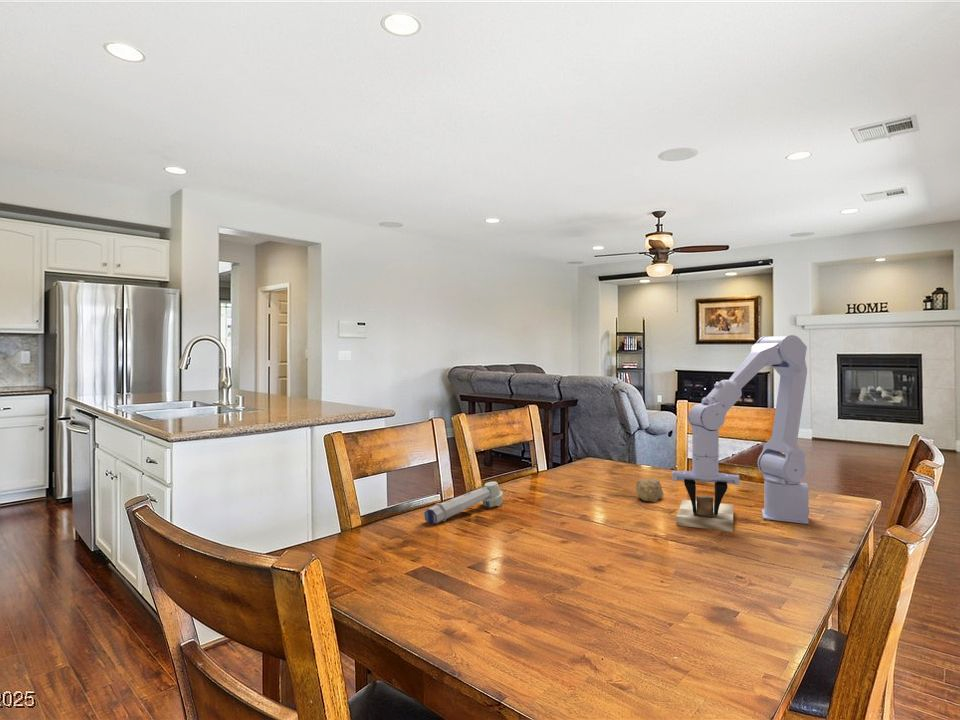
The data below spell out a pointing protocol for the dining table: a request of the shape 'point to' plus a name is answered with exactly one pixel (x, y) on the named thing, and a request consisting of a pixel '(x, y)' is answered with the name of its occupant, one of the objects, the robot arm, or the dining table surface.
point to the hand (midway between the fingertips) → (705, 512)
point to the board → (717, 522)
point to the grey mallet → (465, 503)
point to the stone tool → (649, 489)
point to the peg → (705, 506)
